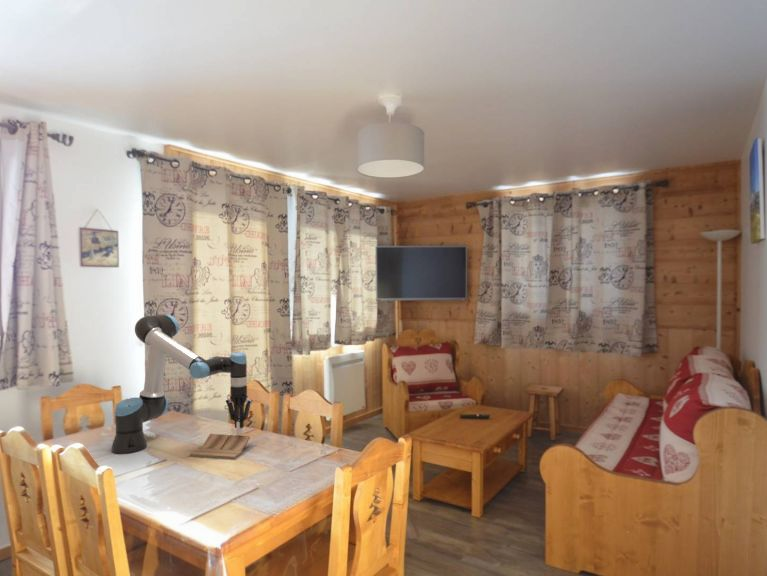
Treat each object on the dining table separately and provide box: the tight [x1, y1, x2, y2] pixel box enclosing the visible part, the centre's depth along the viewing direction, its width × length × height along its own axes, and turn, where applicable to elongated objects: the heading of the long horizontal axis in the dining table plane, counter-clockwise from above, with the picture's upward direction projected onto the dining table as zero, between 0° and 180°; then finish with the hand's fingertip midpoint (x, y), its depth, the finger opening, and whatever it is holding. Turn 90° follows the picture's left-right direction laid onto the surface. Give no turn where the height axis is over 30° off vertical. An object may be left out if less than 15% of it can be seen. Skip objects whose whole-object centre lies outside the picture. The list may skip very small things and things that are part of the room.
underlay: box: [186, 444, 257, 461], centre depth 227 cm, size 24×20×2 cm
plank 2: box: [222, 434, 251, 451], centre depth 229 cm, size 10×9×1 cm
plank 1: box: [201, 433, 230, 449], centre depth 231 cm, size 10×9×1 cm
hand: (239, 434), depth 232 cm, fingers closed
